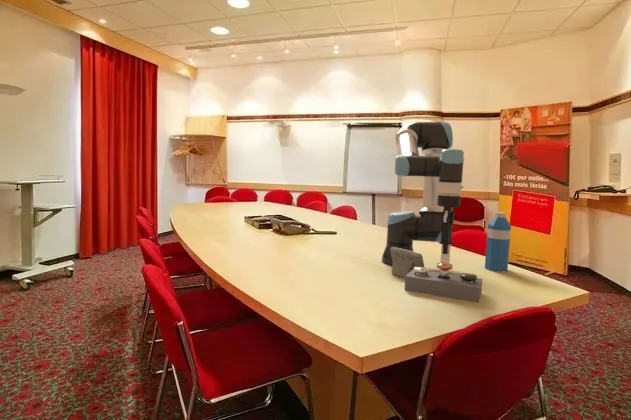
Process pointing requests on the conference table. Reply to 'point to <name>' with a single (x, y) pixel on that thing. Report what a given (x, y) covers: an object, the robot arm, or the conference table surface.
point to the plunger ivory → (421, 270)
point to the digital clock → (405, 261)
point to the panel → (444, 286)
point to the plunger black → (468, 277)
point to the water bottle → (498, 243)
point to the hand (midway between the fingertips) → (444, 262)
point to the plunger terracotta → (444, 270)
